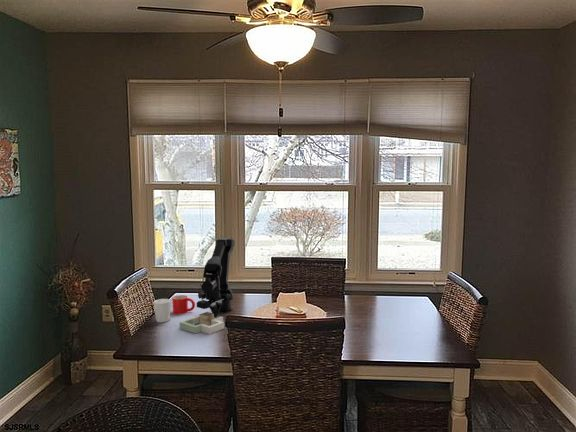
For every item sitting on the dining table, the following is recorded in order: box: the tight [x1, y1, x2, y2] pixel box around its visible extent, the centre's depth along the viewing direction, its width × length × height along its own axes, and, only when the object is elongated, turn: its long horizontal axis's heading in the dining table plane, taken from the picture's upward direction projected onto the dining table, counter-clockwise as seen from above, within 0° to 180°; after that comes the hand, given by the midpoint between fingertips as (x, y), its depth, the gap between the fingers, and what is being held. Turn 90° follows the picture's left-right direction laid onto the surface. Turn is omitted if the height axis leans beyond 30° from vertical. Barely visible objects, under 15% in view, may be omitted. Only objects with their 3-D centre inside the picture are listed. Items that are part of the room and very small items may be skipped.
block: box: [198, 311, 215, 326], centre depth 242 cm, size 5×5×5 cm
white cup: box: [153, 298, 171, 323], centre depth 248 cm, size 8×8×10 cm
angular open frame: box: [179, 315, 225, 335], centre depth 238 cm, size 18×18×3 cm
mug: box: [171, 294, 196, 315], centre depth 261 cm, size 8×12×8 cm, turn 85°
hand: (215, 317), depth 246 cm, fingers closed
